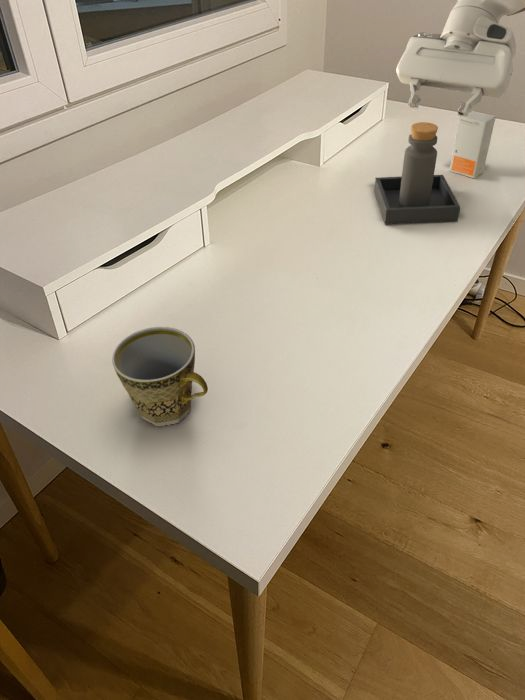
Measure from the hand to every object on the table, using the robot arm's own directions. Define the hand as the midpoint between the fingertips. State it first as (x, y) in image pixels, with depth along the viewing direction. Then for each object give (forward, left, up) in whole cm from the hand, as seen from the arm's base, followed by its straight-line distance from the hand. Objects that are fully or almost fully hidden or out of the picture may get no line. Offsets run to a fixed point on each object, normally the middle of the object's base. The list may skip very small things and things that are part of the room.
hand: (436, 110), depth 106 cm
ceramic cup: (+36, +61, -17) cm, 73 cm away
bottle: (+2, +3, -17) cm, 17 cm away
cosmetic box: (-10, -12, -17) cm, 24 cm away
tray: (+2, +3, -17) cm, 18 cm away
